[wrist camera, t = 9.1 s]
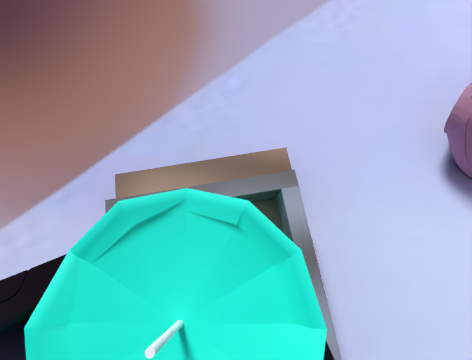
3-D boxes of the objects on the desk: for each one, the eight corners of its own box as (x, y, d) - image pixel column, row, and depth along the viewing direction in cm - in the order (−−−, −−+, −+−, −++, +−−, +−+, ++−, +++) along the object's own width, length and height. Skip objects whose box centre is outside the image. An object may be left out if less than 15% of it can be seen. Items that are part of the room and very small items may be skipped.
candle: (287, 267, 15) (422, 271, 4) (236, 370, 14) (221, 851, 2) (201, 216, 16) (113, 105, 5) (144, 307, 15) (-169, 446, 3)
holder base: (342, 408, 15) (376, 457, 11) (135, 449, 15) (99, 514, 11) (282, 155, 20) (293, 130, 16) (124, 181, 20) (96, 161, 16)
